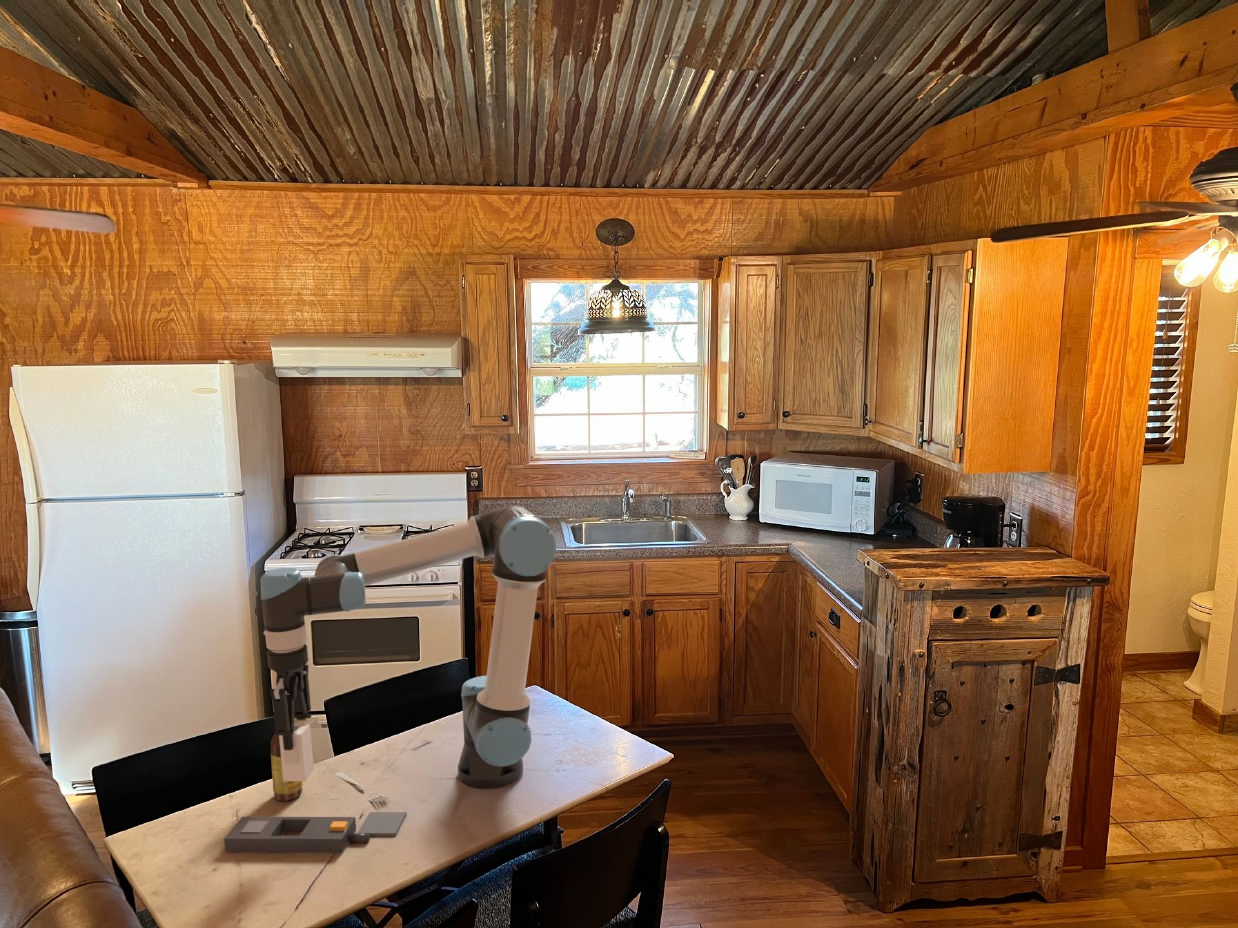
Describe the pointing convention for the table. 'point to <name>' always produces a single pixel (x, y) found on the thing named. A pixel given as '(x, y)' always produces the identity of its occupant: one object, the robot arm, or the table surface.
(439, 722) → the table surface
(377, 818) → the mat
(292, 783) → the sauce bottle
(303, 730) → the block
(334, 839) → the power strip
